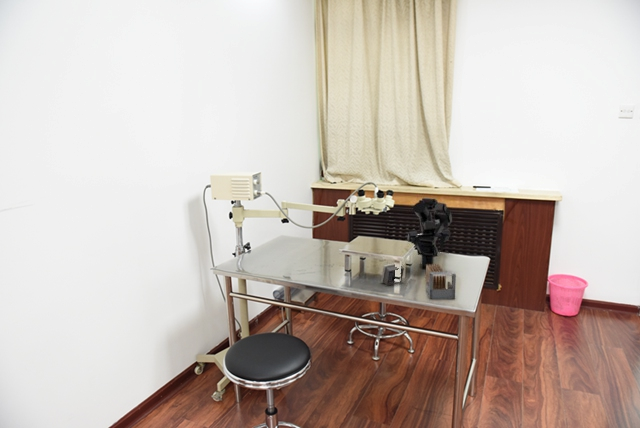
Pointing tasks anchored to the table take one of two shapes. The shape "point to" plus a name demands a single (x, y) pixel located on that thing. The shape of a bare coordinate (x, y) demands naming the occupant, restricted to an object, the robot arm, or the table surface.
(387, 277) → the electrical switch
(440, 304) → the table surface
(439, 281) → the heat-sink block
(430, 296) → the grey open frame
